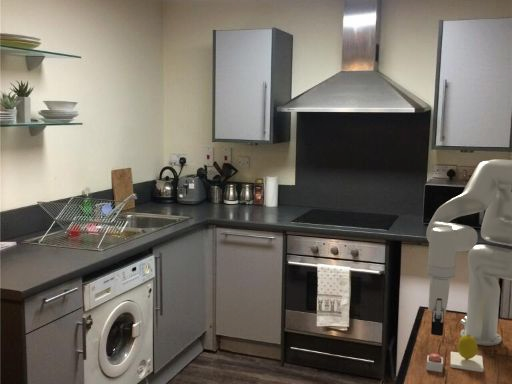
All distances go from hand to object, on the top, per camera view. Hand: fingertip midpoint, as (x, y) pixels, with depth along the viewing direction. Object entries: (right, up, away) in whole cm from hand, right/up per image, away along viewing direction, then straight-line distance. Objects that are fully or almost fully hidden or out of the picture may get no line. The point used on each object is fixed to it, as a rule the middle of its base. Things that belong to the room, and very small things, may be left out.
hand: (437, 329), depth 163 cm
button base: (0, -12, +2) cm, 12 cm away
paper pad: (+10, -11, +5) cm, 16 cm away
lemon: (+11, -11, +5) cm, 16 cm away
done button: (0, -10, +2) cm, 10 cm away
